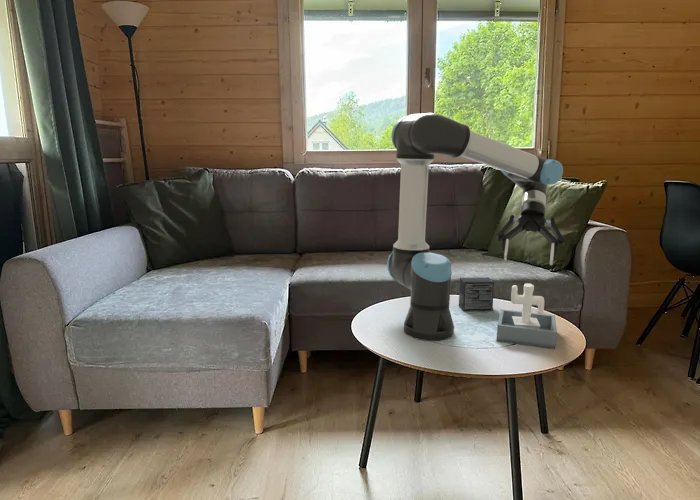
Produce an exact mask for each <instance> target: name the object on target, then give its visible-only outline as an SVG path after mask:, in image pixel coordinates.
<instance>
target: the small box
mask: <svg viewBox="0 0 700 500" xmlns="http://www.w3.org/2000/svg"><path fill="white" fill-rule="evenodd" d="M458 288H459V292H458V293H459V295H458V307H459V309H461V311H463V312H479V311H480V312H484V311H489V312H490V311H491V312H492V311H493V310H494V290H495V281H494V280H492V279H491V278H490V277H486V276H485V277H460V278H459V287H458Z"/></svg>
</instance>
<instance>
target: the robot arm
mask: <svg viewBox="0 0 700 500" xmlns="http://www.w3.org/2000/svg"><path fill="white" fill-rule="evenodd" d="M391 142H392V144H393V146H394V148H395V150H396V154H395V155H396V157H395V159H396V161H397V162H398V163H399V164H400V178H399V179H400V180H399V181H400V184H399V185H400V186H399V188H400V189H399V207H398V229H397V230H398V232H397V233H398V234H397V236H398V237H397V238H398V239H397V240H396V241H395V243H393V244H392V245H393V246H392V252H391V254H389V256H388V258H387V263H386V268H387V271H388V274H389V276H390V277H391V278H392V279H393V280H394V281H395V282H396V283H398V284H399V285H402V286H403V287H404V288H406V289H408V290H409V291H410V303H409V304H410V305H409V309H408V311H407V313H406V316H405V319H404V322H403V332H404V333H405V334H406V335H407V336H408V337H411V338H414V339H417V340H421V341H422V340H423V341H443V340H448V339H450V338H451V337H453V336H454V333H455V332H454V331H455V326H454V321H453V319H452V318H453V317H452V314H451V311H450V298H451V283H452V282H451V281H452V280H451V279H452V275H453V272H452V263H451V260H450V259H449V258H448V257H446V256H445V255H443V254H439V253H435V252H430V245H429V244H428V243H427V242H426V225H427V207H428V190H429V189H428V188H429V187H428V186H429V185H428V184H429V168H430V164H432V163H433V161H435V155H441V156H442V155H443V156H447V157H451V158H454V159H458V158H460V157H461V158H465V159H468V160H470V161H473V162H476V163H479V164H481V165H485V166H489V167H491V168H494V169H497V170H499V171H500V172H501V173H502V174H503V175H504V176H506V178H508V179H509V180H510V181H512V182H513V183H514V184H515V185H517V186H518V187H519V188H520V189H521V190H522V197H521V207H520V216H518V217H517V216H515V215H514V214H511V215H510V217H509V220H508V221H507V222H506V224H504V226H503V227H502V228H501V229H500V231H498V233H497V235H496V240H497V241H498V242H501V250H502V251H504V254H503V255H504V256H503V261H507V259H508V251H509V244H510V242H509V241H510V240H511V239H513V238H514V237H515V236H517V235H518V234H520V233H522V232H524V231H525V232H533V233H537V232H538V233H539V234H541V235H542V236H543V237H544V238H545V240H547V241H548V242H549V244H551V245H550V256H549V257H550V258H549V266H553V264H554V256H558V252H559V247H564V245H565V243H566V242H565V241H566V240H565V238H564V236H563V235H562V233H561V232H560V230H559V228H558V226H557V225H556V219H555V218H554V217H551V218H550V219H546V218H545V216H546V205H547V191H548V190H547V189H548V185H555V184H557V183H559V181H561V180H562V177H563V174H564V167H563V164H562V163H561V162H560V161H559V160H556V159H552V158H548V159H547V158H544V157H542V156H538V155H535V154H532V153H530V152H527V151H525V150H522V149H520V148H517V147H515V146H512V145H509V144H506V143H504V142H501V141H498V140H496V139H493V138H491V137H487V136H484V135H482V134H480V133H477V132H474V131H471V128H470V126H468V125H467V124H464V123H461V122H459V121H456V120H454V119H451V118H450V117H447V116H444V115H441V114H438V113H435V112H434V113H433V112H426V113H413V114H412V113H411V114H408V115H404V116H403V117H401V118H400V119H398V120H397V122H396V123H395V124H394V125H393V128H392V131H391ZM516 223H518V224H517V225H516V226H515V227H514V228H513V225H515V224H516ZM546 225H547V226H548V228H550V230H551V232H550V231H549V230H548V229H547V228H546ZM511 228H512V229H511Z"/></svg>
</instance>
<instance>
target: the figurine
mask: <svg viewBox="0 0 700 500" xmlns="http://www.w3.org/2000/svg"><path fill="white" fill-rule="evenodd" d="M534 289H535V285H534V284H532V283H530V282H529V283H528V282H525V283H524V285H523V294H518V291H519V290H518V285H516V284H515V285H512V286H511V295H510V301H511V303H512V304H514V305H522V310H521V312H522V317H517V316H512V318H513V321H514V324H515V326H518V327H526V328H534V329H539V328H540V324H539V322H538V320H537V318H531V313H532V307H533V306H537V313H538V314H541V315H542V314H544V310H545V298H544V297H543V295H542V296H541V295H534V294H533V293H534V291H535V290H534Z"/></svg>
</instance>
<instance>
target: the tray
mask: <svg viewBox="0 0 700 500" xmlns="http://www.w3.org/2000/svg"><path fill="white" fill-rule="evenodd" d="M512 316H517V317H522V311H518V310H513V309H512V310H509V309H500V311H499V315H498V321H497V325H496V326H497V327H496V339H495V341H496V342H500V343H508V344H515V345H519V346H520V345H521V346H528V347H534V348H542V349H543V348H544V349H552V350H556V347H557V346H556V345H557V337H558V336H557V335H558V329H557V323H556V322H557V321H556V315H553V314H548V313H547V314H544V313H543V314H542V315H541V314H538V312H537V313H536V312H531V318H537V320H538V322H539V324H540V328H539V329H534V328H526V327H518V326H515V324H514V321H513V318H512Z"/></svg>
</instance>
